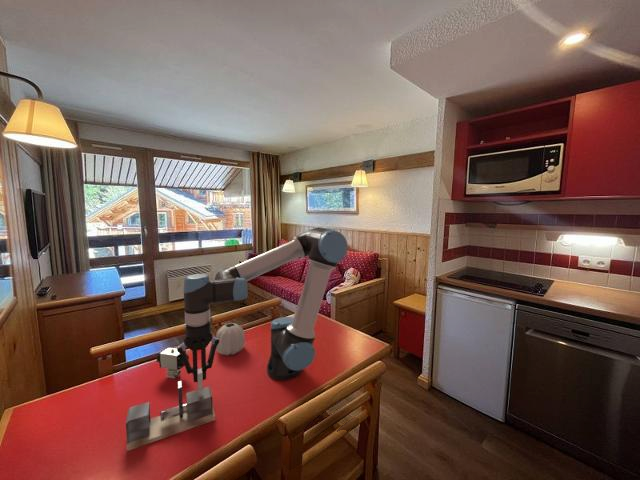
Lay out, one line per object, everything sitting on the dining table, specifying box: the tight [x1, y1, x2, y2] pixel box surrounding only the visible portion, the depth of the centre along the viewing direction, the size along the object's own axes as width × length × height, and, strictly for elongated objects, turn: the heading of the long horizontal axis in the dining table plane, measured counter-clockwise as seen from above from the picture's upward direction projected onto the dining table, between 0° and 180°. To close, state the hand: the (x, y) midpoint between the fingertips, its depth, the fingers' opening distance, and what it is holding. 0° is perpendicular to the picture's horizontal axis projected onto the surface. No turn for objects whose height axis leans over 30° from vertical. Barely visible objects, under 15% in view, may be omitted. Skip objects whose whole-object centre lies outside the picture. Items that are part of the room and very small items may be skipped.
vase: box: [215, 322, 246, 356], centre depth 130 cm, size 14×14×13 cm
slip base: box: [125, 385, 216, 452], centre depth 86 cm, size 24×9×8 cm, turn 120°
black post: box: [159, 380, 188, 421], centre depth 87 cm, size 14×5×11 cm, turn 120°
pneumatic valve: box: [156, 347, 190, 380], centre depth 110 cm, size 6×12×12 cm, turn 78°
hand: (200, 389), depth 89 cm, fingers closed
